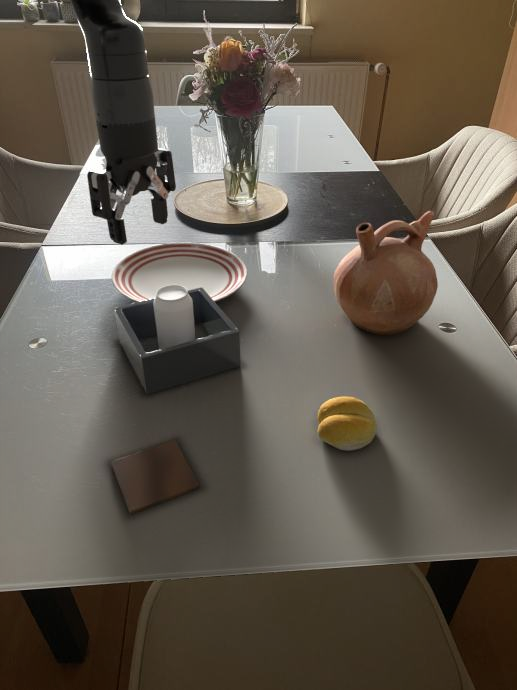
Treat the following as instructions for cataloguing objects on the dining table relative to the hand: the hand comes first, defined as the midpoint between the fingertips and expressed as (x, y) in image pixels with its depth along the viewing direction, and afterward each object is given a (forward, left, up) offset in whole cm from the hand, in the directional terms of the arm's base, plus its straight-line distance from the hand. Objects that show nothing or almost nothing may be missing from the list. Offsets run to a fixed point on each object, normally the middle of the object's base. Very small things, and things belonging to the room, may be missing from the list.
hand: (140, 232), depth 78 cm
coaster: (-9, -25, -22) cm, 35 cm away
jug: (+41, -7, -22) cm, 48 cm away
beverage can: (+3, -1, -22) cm, 23 cm away
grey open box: (+3, -1, -22) cm, 22 cm away
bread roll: (+18, -29, -22) cm, 41 cm away
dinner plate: (+12, +22, -22) cm, 33 cm away
